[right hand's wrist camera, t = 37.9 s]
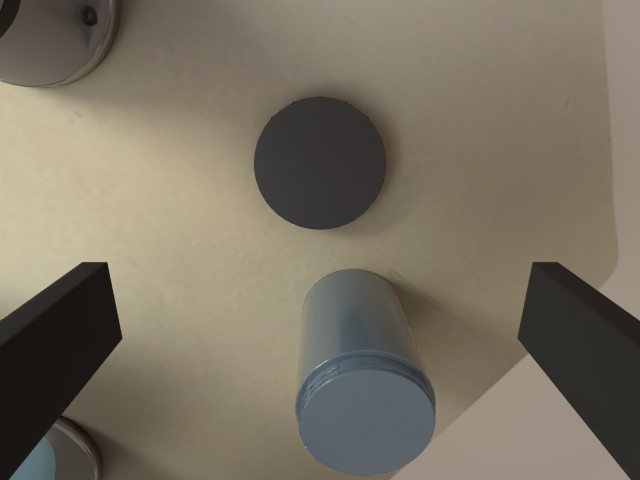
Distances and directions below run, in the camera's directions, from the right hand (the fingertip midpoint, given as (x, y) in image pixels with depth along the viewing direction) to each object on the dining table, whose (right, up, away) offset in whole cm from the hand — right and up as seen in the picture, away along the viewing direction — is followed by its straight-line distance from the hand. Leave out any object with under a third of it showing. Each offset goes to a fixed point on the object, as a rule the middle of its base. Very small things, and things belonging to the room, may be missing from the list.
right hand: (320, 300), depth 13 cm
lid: (0, +8, +23) cm, 24 cm away
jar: (+3, -6, +30) cm, 31 cm away
